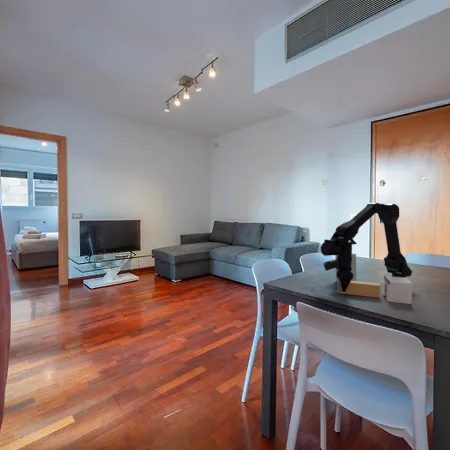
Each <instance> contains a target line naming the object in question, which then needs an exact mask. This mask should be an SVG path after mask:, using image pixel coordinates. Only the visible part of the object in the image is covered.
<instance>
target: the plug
mask: <svg viewBox="0 0 450 450" xmlns="http://www.w3.org/2000/svg"><path fill="white" fill-rule="evenodd" d="M336 283H337V285H336V286H337V287H336V289H337V291H336V293H337V294H338V295H339V294H346V295H353V296H361V297H362V296H363V297H371V298H381V284H380V283H379V282H372V281H371V282H370V281H358V280H356V281H351V282H350V283H349V285H348V287H347V289H346V291H345V292H342V287H341V281H340V279H338V280H337V281H336Z"/></svg>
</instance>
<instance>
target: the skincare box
mask: <svg viewBox="0 0 450 450" xmlns="http://www.w3.org/2000/svg"><path fill="white" fill-rule="evenodd" d="M334 258H335V259H337V255H334ZM335 259H334V260H335ZM351 267H352V270H351V271H352V272H353V279H352V280H351V281H357V253H353V252H352V266H351ZM336 271H338V270H336V269H335V282H337V280H338V278H337V273H336Z"/></svg>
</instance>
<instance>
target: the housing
mask: <svg viewBox="0 0 450 450" xmlns="http://www.w3.org/2000/svg"><path fill="white" fill-rule="evenodd" d="M382 291H383V293H382V294H383V296H384V297H386V298H385V299H386V301H387V302H390V303H399V304H408V305H412V302H413V301H412V300H413V297H412V296H413V282H412V281H410V280H409V279H408V277H406V278H403V277H392V275H391V276H389V275H384V276H383V290H382Z"/></svg>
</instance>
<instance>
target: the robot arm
mask: <svg viewBox="0 0 450 450" xmlns="http://www.w3.org/2000/svg"><path fill="white" fill-rule="evenodd" d="M375 214H377V215H378V218H379V220H380V221H381V222H382V224H383V227H384V228H383V229H384V234H385V240H386V247H387V249H386V250H387V254H386V257H383V261H384V266H385V268H386V271H387V273H388V274H389V273H390V274H391V276H392V277H403V278H408V277H412V275H413V270H412V269H411V268H410V266H409V265H408V263H407V258H406V257H405V256H404V255H403V254H402V252H401V245H400V239H399V233H398V225H397V223H398V219H400V207H399V205H397V204H395V203H380V202H369V203H367V204H366V206H365V207H364V208H363V209H362V210H360V211H359V212H358V213H357V214H356V215H354V217H352V218H351V219H350V220H348V221H345V222H343V223H342V224H340V225H338V226H337V227H336V228H335V232H334V233H333V235H332V236H331V237H330V239H324V240H323V242H322V244H321V246H320V252H321V254H322V255H323V256H324V257H330V256H335V255H337V259H331V260H327V261H324V262H323V268H324V269H325V271H326V272H329V270H333V269H335V274H336V273H337V278H338V279H340V281H341V287H342V292H345V291H346V289H347V287H348V285H349V283H350V282H351V280H352V279H353V272H352V271H351V270H352V267H351V266H352V253H353V245H358V244H357V242H356V241H355V240H354V238H355V237H356V236H357V235H358V233H359V230H360V228H361V227H362V226H363V225H364V224H365V223H367V221H369V220H370V219H371V218H372V217H373V216H375ZM336 270H338V271H336Z"/></svg>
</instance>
